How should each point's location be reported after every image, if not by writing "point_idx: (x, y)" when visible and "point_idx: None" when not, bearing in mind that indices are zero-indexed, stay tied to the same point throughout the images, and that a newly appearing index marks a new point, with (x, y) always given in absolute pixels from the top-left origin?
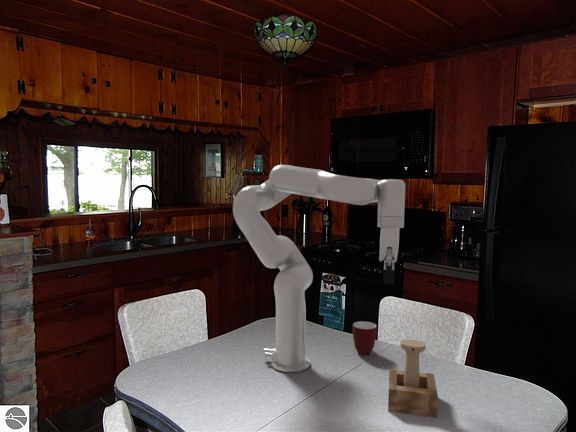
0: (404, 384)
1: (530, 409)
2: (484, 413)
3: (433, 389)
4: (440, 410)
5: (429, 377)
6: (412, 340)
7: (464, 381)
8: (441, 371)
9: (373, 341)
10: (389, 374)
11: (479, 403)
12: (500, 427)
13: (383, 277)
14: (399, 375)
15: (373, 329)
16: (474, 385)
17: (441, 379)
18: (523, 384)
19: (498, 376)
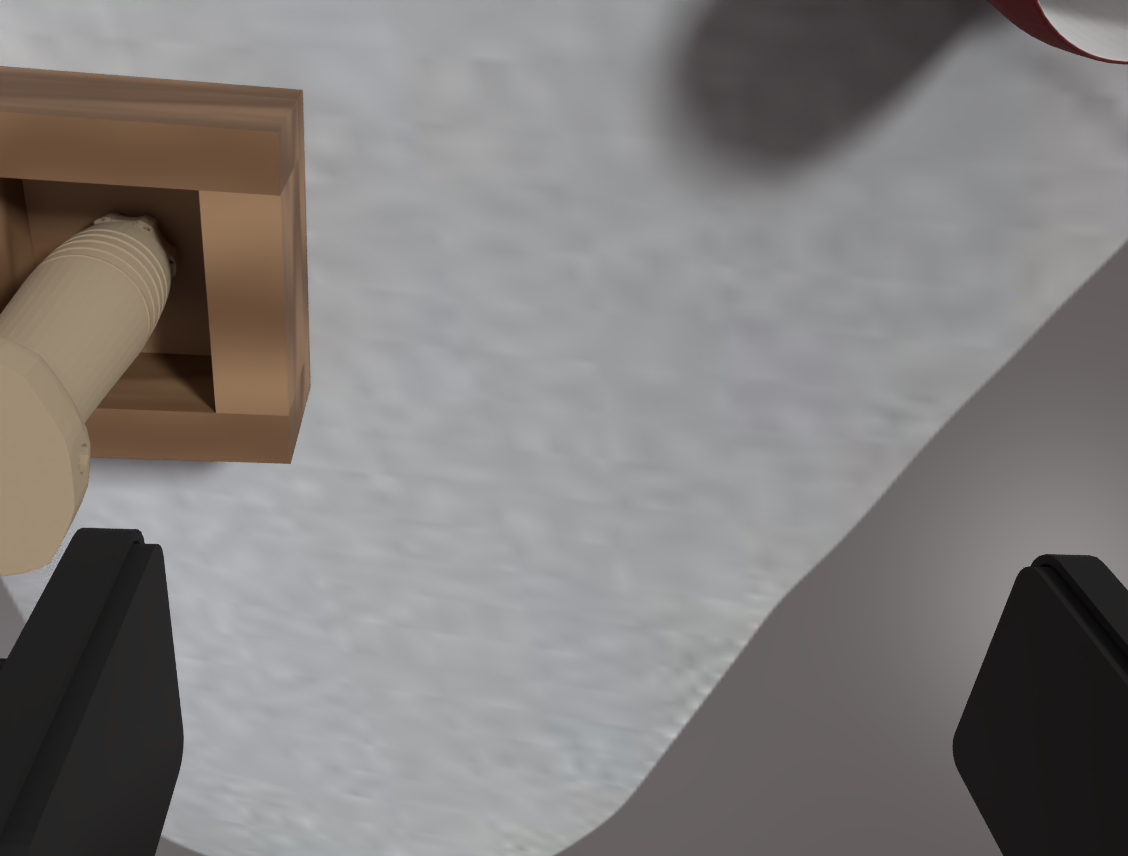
0: (77, 235)
1: (290, 793)
2: None
3: None
4: None
5: (215, 430)
6: (51, 470)
7: (547, 580)
8: (676, 477)
9: (991, 3)
10: (160, 125)
11: (278, 608)
12: None
13: (30, 645)
14: (204, 210)
15: (1038, 21)
16: (503, 619)
17: (552, 462)
18: (564, 818)
19: (645, 741)
